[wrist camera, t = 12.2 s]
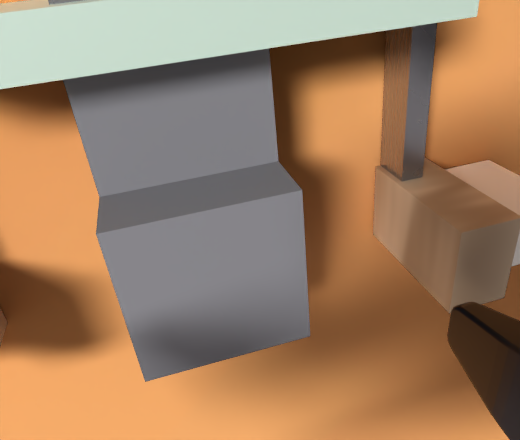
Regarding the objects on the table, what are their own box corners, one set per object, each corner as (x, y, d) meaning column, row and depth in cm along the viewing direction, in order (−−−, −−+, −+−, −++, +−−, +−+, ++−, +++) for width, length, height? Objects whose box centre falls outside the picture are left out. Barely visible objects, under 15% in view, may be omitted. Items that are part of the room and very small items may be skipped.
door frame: (550, -195, 13) (766, -278, 8) (480, 208, 19) (581, 275, 15) (-549, -132, 8) (-1241, -237, 4) (-153, 361, 15) (-261, 516, 11)
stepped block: (244, 20, 13) (294, 40, 9) (269, 256, 18) (310, 336, 14) (67, 45, 12) (44, 79, 9) (139, 287, 17) (145, 381, 13)
